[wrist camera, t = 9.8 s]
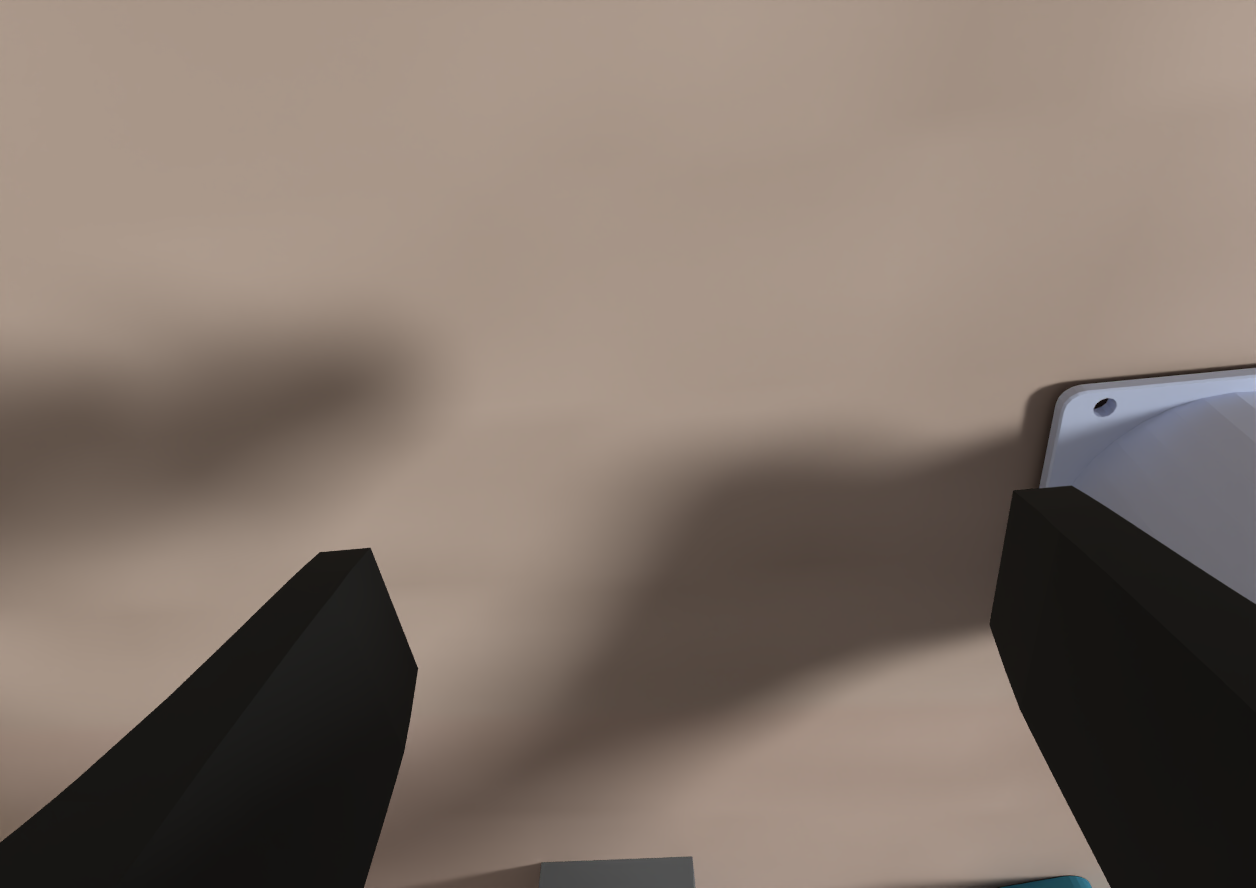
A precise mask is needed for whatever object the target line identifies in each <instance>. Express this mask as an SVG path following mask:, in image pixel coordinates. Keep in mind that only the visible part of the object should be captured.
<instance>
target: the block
mask: <svg viewBox="0 0 1256 888" xmlns="http://www.w3.org/2000/svg"><path fill="white" fill-rule="evenodd" d="M1000 888H1092V887H1091V885H1090V883H1089V882H1088V881H1087V880H1086V879H1084V878H1082V877H1077V876H1064V877H1057V878H1052V879H1046V880H1040V881H1035V882H1029V883H1023V884H1017V885H1012V886H1006V887H1000Z"/></svg>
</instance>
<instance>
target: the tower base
mask: <svg viewBox="0 0 1256 888" xmlns="http://www.w3.org/2000/svg"><path fill="white" fill-rule="evenodd" d="M539 888H695V878H694V869H693V859H692V857H669V858H643V859H618V860H593V861H568V862H543V863H541V871H540V881H539Z"/></svg>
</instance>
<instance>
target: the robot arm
mask: <svg viewBox="0 0 1256 888" xmlns="http://www.w3.org/2000/svg"><path fill="white" fill-rule="evenodd" d="M1106 398H1109V399H1108V400H1107V402H1106V404H1104V405H1103V406H1102V407H1100V408H1096V409H1094V407H1095V405H1096V404H1097V403H1098V402H1099V401H1100V400H1103V399H1106ZM990 628H991V631H992V633H993V636H994V639H995V642H996V645H997V648H998V651H999V654H1000V657H1001V659H1002V662H1003V665H1004V668H1005V671H1006V674H1007V676H1008V679H1009V682H1010V684H1011V687H1012V690H1013V692H1014V695H1015V697H1016V700H1017V703H1018V705H1019V708H1020V710H1021V712H1022V714H1023V716H1024V718H1025V721H1026V723H1027V725H1028V727H1029V729H1030V731H1031V733H1032V735H1033V737H1034V739H1035V741H1036V743H1037V745H1038V747H1039V748H1040V750H1041V752H1042V754H1043V756H1044V758H1045V760H1046V762H1047V764H1048V766H1049V768H1050V770H1051V772H1052V774H1053V776H1054V778H1055V780H1056V782H1057V784H1058V786H1059V788H1060V790H1061V792H1062V794H1063V796H1064V798H1065V799H1066V801H1067V803H1068V805H1069V807H1070V809H1071V811H1072V813H1073V815H1074V817H1075V819H1076V821H1077V823H1078V825H1079V827H1080V829H1081V831H1082V832H1083V834H1084V836H1085V838H1086V840H1087V842H1088V844H1089V846H1090V848H1091V850H1092V852H1093V854H1094V856H1095V858H1096V860H1097V862H1098V864H1099V865H1100V867H1101V869H1102V871H1103V873H1104V875H1105V877H1106V879H1107V881H1108V883H1109V885H1110V887H1111V888H1256V368H1248V369H1238V370H1227V371H1217V372H1207V373H1196V374H1186V375H1175V376H1165V377H1155V378H1144V379H1134V380H1123V381H1113V382H1102V383H1092V384H1082V385H1077V386H1073V387H1071V388H1069V389H1067V390H1066V391H1064V392H1063V393H1062V394H1061V395H1060V397H1059V398H1058V400H1057V402H1056V405H1055V410H1054V415H1053V420H1052V425H1051V430H1050V435H1049V440H1048V445H1047V451H1046V456H1045V461H1044V466H1043V471H1042V476H1041V481H1040V486H1039V488H1037V489H1026V490H1015V491H1013V495H1012V501H1011V506H1010V512H1009V518H1008V523H1007V529H1006V534H1005V540H1004V546H1003V551H1002V557H1001V563H1000V568H999V574H998V580H997V585H996V591H995V596H994V602H993V608H992V613H991V619H990ZM417 672H418V667H417V665H416V662H415V660H414V657H413V654H412V652H411V649H410V647H409V644H408V642H407V639H406V637H405V634H404V632H403V629H402V627H401V624H400V621H399V619H398V616H397V614H396V611H395V609H394V606H393V604H392V601H391V599H390V596H389V594H388V591H387V588H386V586H385V583H384V581H383V578H382V576H381V573H380V571H379V568H378V566H377V563H376V561H375V558H374V555H373V553H372V550H371V548H363V549H351V550H340V551H329V552H320V553H319V554H317V555H316V556H315V557H314V558H313V559H312V560H311V561H310V562H308V563H307V564H306V565H305V566H304V567H303V568H302V569H301V570H300V571H299V572H297V573H296V574H295V575H294V576H293V577H292V578H291V579H290V580H289V581H288V582H287V583H286V584H285V585H284V586H283V587H282V588H281V589H280V590H279V591H278V592H277V593H276V594H274V595H273V596H272V597H271V598H270V599H269V600H268V601H267V602H266V603H265V604H264V605H263V606H262V607H261V608H260V609H259V610H258V611H257V612H256V613H255V614H254V615H253V616H252V617H251V618H250V619H249V620H248V621H247V622H246V623H245V624H244V625H243V626H242V627H241V628H240V629H239V630H238V631H237V632H236V633H235V634H234V635H233V636H232V637H230V638H229V639H228V640H227V641H226V642H225V643H224V644H223V645H222V646H221V647H220V648H219V649H218V650H217V651H216V652H215V653H214V654H213V655H212V656H211V657H210V658H209V659H208V660H207V661H206V662H205V663H203V664H202V665H201V666H200V667H199V668H198V669H197V670H196V671H195V672H194V673H193V674H192V675H191V676H190V677H189V678H188V679H187V680H186V681H185V682H184V683H183V684H182V685H181V686H180V687H179V688H177V689H176V690H175V691H174V692H173V693H172V694H171V695H170V696H169V697H168V698H167V699H166V700H165V701H164V702H162V703H161V704H160V705H159V706H158V707H157V708H156V709H155V710H154V711H152V712H151V713H150V714H149V715H148V716H147V717H146V718H145V719H144V720H142V721H141V722H140V723H139V724H138V725H137V726H136V727H135V728H134V729H132V730H131V731H130V732H129V733H128V734H127V735H126V736H125V737H123V738H122V739H121V740H120V741H119V742H118V743H117V744H116V745H115V746H113V747H112V748H111V749H110V750H109V751H108V752H107V753H106V754H105V755H103V756H102V757H101V758H100V759H99V760H98V761H97V762H96V763H95V764H93V765H92V766H91V767H90V768H89V769H88V770H87V771H86V772H85V773H83V774H82V775H81V776H80V777H79V778H78V779H77V780H76V781H74V782H73V783H72V784H71V785H70V786H68V787H67V788H66V789H65V790H64V791H63V792H61V793H60V794H59V795H58V796H57V797H56V798H54V799H53V800H52V801H51V802H50V803H48V804H47V805H46V806H45V807H44V808H42V809H41V810H40V811H39V812H37V813H36V814H35V815H34V816H33V817H31V818H30V819H29V820H28V821H27V822H25V823H24V824H23V825H22V826H20V827H19V828H18V829H17V830H16V831H14V832H13V833H12V834H10V835H9V836H8V837H7V838H5V839H4V840H3V841H2V842H0V888H364V885H365V882H366V879H367V875H368V872H369V869H370V865H371V862H372V859H373V856H374V852H375V849H376V846H377V842H378V839H379V836H380V833H381V829H382V826H383V823H384V819H385V816H386V813H387V809H388V806H389V802H390V799H391V796H392V792H393V789H394V785H395V782H396V779H397V775H398V772H399V768H400V765H401V761H402V758H403V754H404V750H405V745H406V739H407V734H408V728H409V723H410V717H411V711H412V705H413V698H414V691H415V685H416V678H417Z"/></svg>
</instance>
